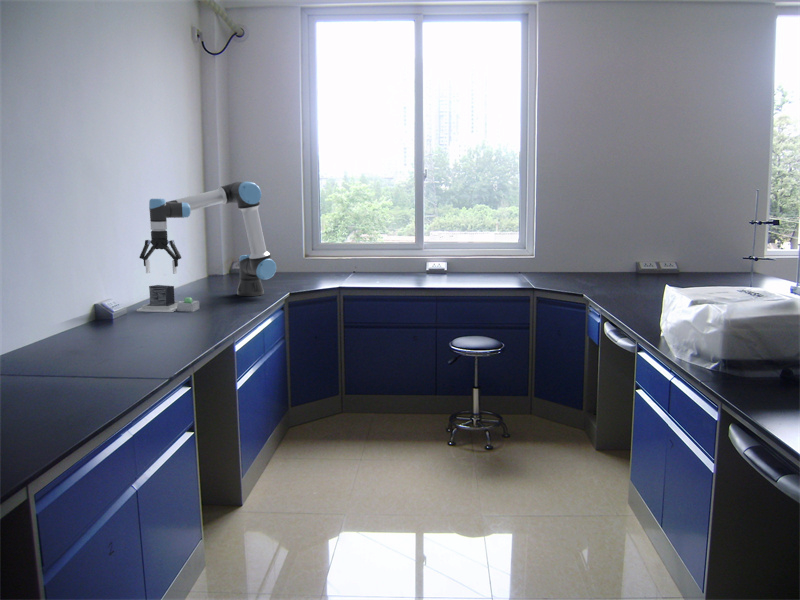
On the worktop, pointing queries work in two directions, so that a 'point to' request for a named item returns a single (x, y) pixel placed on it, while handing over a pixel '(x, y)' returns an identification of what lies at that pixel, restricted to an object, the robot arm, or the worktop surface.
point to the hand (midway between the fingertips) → (161, 273)
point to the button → (188, 300)
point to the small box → (161, 295)
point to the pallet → (159, 308)
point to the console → (188, 306)
